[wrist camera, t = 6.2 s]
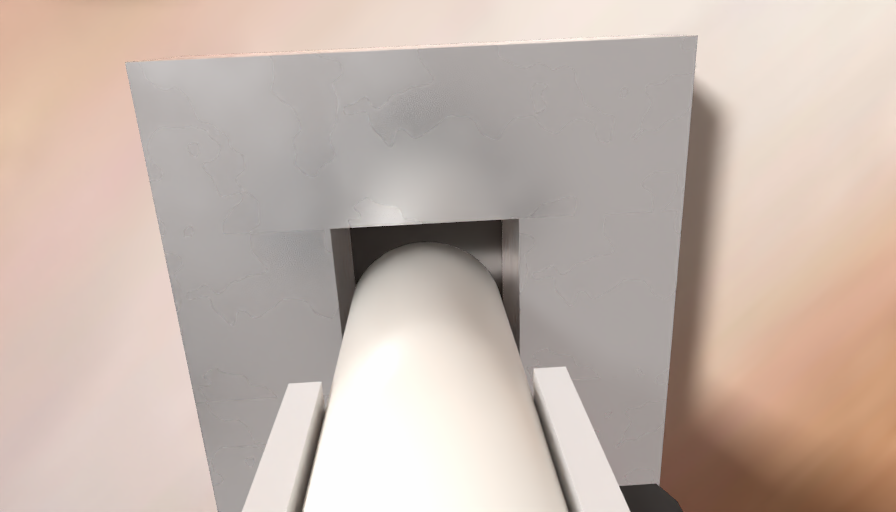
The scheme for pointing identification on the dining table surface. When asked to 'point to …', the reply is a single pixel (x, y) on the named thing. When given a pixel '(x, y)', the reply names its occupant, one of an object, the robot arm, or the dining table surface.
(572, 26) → the dining table surface
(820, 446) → the dining table surface
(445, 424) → the plug
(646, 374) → the housing
